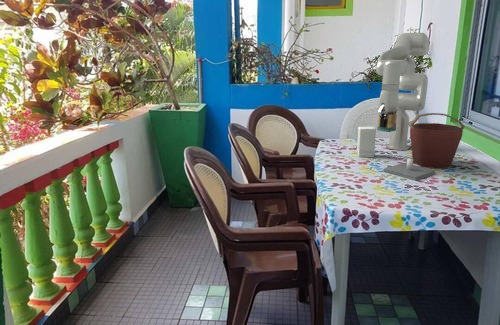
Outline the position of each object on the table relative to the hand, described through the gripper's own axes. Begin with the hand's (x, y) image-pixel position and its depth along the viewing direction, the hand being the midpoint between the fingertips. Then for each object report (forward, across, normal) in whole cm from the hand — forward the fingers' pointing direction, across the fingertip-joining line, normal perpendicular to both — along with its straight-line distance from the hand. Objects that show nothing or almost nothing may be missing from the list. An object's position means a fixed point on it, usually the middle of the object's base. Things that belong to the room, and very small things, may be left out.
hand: (386, 126), depth 181 cm
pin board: (+20, +2, +14) cm, 24 cm away
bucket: (+20, -21, +13) cm, 32 cm away
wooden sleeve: (+2, 0, 0) cm, 2 cm away
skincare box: (+20, -9, -16) cm, 27 cm away
